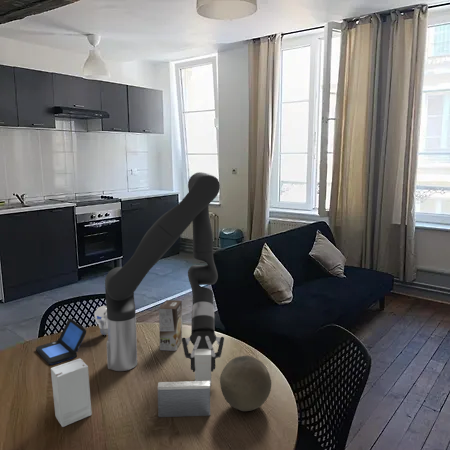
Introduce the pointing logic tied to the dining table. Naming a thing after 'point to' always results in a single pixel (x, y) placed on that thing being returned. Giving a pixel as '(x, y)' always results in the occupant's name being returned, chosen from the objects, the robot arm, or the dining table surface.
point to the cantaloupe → (245, 383)
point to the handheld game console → (63, 344)
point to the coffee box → (170, 325)
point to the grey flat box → (184, 398)
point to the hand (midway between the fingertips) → (203, 370)
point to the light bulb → (102, 319)
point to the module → (203, 365)
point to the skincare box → (71, 392)
